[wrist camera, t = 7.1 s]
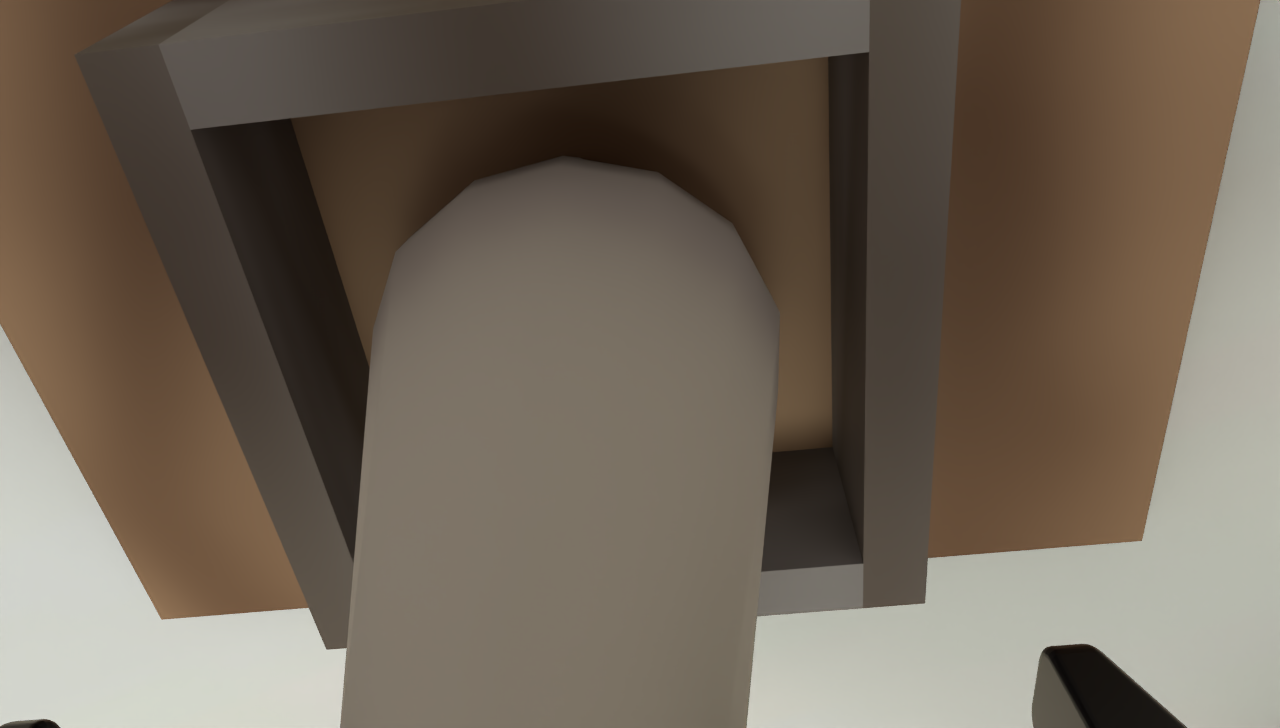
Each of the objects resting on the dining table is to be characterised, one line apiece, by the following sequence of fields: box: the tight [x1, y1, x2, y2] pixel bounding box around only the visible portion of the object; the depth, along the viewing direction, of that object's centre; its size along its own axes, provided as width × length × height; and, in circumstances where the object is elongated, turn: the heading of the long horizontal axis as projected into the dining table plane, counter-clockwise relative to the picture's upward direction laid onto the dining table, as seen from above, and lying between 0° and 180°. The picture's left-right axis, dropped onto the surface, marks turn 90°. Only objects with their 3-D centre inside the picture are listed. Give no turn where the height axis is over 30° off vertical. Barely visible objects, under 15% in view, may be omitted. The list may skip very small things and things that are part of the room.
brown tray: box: [0, 0, 1260, 649], centre depth 15 cm, size 20×14×4 cm
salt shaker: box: [340, 156, 780, 728], centre depth 11 cm, size 6×6×13 cm
